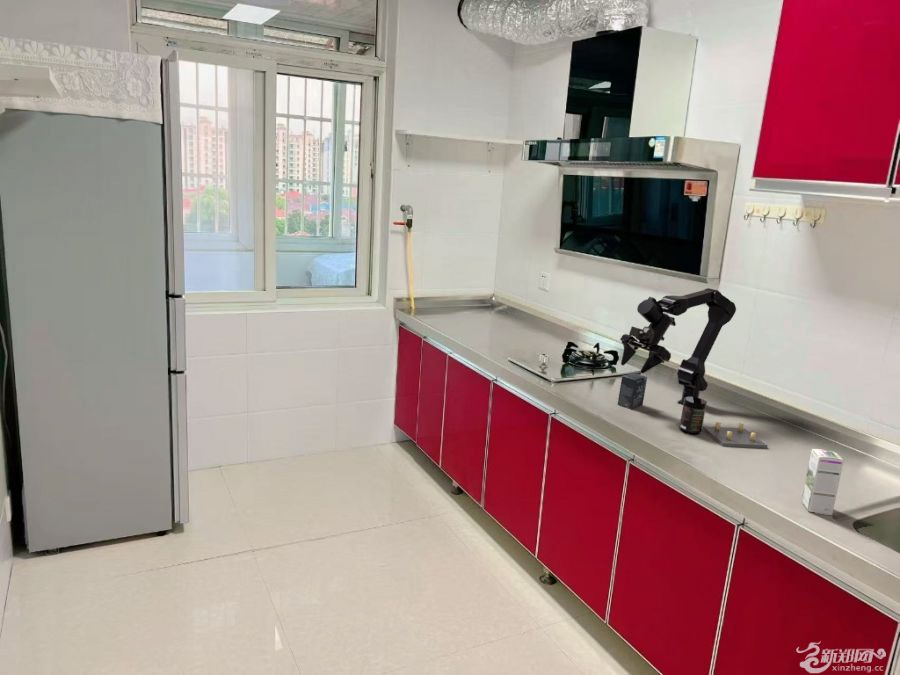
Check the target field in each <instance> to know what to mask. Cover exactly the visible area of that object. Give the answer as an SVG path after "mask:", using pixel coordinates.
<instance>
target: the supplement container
mask: <svg viewBox="0 0 900 675" xmlns="http://www.w3.org/2000/svg"><path fill="white" fill-rule="evenodd" d="M707 404H708V403H707V400H705V399H703V398H700V397H699V398H696V397H685V398H684V403H683V404H682V405H683V406H682V410H681V416H680V422H679V430H680V431H681V432H682V433H684V434H686V435H689V436H690V435H691V436H699V435H700V434H702V431H703V426H704V419H705V414H706V408H707Z"/></svg>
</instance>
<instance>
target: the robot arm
mask: <svg viewBox="0 0 900 675" xmlns="http://www.w3.org/2000/svg"><path fill="white" fill-rule="evenodd" d="M701 305H706V306H707V307H708V311H707V317H708V321H707V323H706V324H705V327H704V330H703V331H702V333H701V336H700V338H699V340H698V342H697V344H696V346H695V347H694V350H693V352H692V354H691V356H690V357H689V358H688V359H682V360H681V362H680V365H679V367H678V368H677V374H676V375H677V381H678V385H681V386H683V388H682V393H681V399H679V400H677V403H678V404H681V405H683V403H684V398H685V397H696V398H700V394H701V392H704V391H706V390H707V388H708V386H709V384H708V383H707V382H708V381H707V380H706V379H705V378H704V377H705V374H706V365H705V363H706V361H707V359H708V356H709V355H710V353H711V352H712V348H713V346H714V345H715V342H716V340H717V338H718V336H719V334H720V332H721V330H722V328H723V327H724V326H725V325H726V324H728V323H729V322H730V321H731V320H732V319H733V317H734V316H735V314H736V312H737V307H736V304H735V302H734V301H732V300H730V299H729V298H727V296H724V295H723V294H722V293H721V292H720V290H717V289H713V288H704V289H702V290H699V291H696V292H691V293H688V294H684V295H665V296H663V297H661V299H660V300H657V299H656V298H655V297H653V296H648V298H647V299H643V300H642V301H641V302H640V303H639V304H638V305H637V309H636V310H637V313H638V314H639V315H641V317H643V319H644V320H646V322H648V323H649V325H648V326H646V325H645V326H644V327H643V328H639V327H635V326H631V328H630V331H629V333H628V334H627V333H624V334H622V336H620V338H619V341H621V344H622V345H623V352H622V353H623V354H622V357H621V362H620V365H621V366H625V365H626V364H627V363H629V361H630V360H631V359H632V358H633V357H634V355H635V354H637V350H638V349H641V350H644V351H647V352H648V357H647V359H646V361H645V362H644V364H643V365H642V367H641V370H640V373H641V374H645V373H646V372H648V371H649V370H651V369H652V368H653V369H654V368H655V367H656V366H658V365H660V364H664V363H665V362H667V363H669V361H670V359H671V358H672V353H671V352H670V351H669V350H668V349H667V348H666V347H664V346H662V345H660V344H659V343H660V342H661V341H662V342H664V340H665V337H664V335H665V334H666V332H667V330H668V329H669V328H670V326H673V327H676V320H675V317H678V316H681V315H683V314H684V313H686V312H687V310H689V309H691V308H695V307H698V306H701ZM670 315H672V316H670ZM673 316H675V317H673Z"/></svg>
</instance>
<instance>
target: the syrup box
mask: <svg viewBox="0 0 900 675" xmlns="http://www.w3.org/2000/svg"><path fill="white" fill-rule="evenodd" d="M809 457H810V458H809V462H808V467H807V472H806V478H805V482H804V486H803V490H802V492H803V493H802V495H801V496H802V497H801V504H802V503H803V504H802V505H803V506H804V508H805V509H806V511H807V510H808V511H809V512H808V511H807V512H808V513H812V512H815V513H814V514H818V513H820V514H819V515H826V516H833V512H834V509H835V504H836V500H837V494H838V489H839V486H840V485H839V484H840V480H841V476H842V470H843V466H844V459H843V458H842V456H840V455H839V454H838V453H837V452H836V451H834V450H829V449H821V448H811V452H810V456H809Z"/></svg>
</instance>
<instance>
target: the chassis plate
mask: <svg viewBox="0 0 900 675" xmlns="http://www.w3.org/2000/svg"><path fill="white" fill-rule="evenodd" d="M744 426H745V425H744V423H738V428H737V427H721V422H720V421H719V422H718V421H716V422H715V426H707V425H706V426H704V425H703V426H702V431H704V432H705V433H706V434H707V435H709V436H710V437H711V438H712V439H714V441H716V442H717V443H718V444H719V445H720V446H722V447H732V448H747V449H748V448H752V449H768V444H767V443H765V442H764V441H762V440H761V439H760V438H758V437H757V433H756V432H750V431H749V430H748V429H746V428H744Z"/></svg>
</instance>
